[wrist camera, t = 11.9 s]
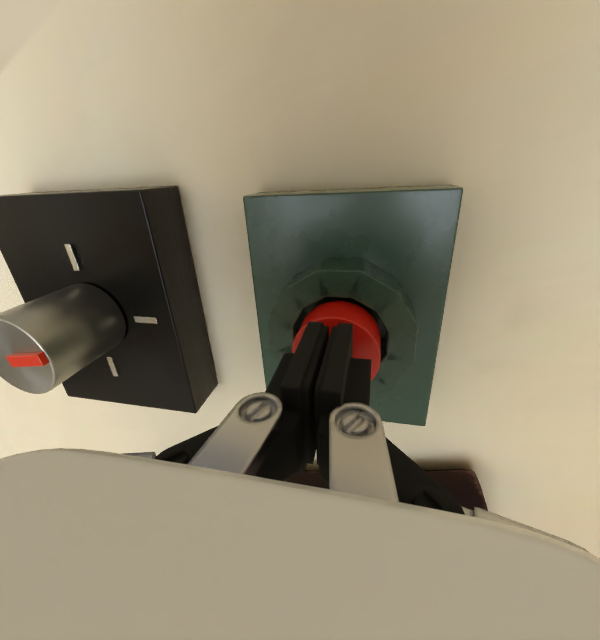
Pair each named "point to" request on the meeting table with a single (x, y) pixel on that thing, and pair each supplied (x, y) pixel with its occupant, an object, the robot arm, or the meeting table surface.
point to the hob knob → (57, 336)
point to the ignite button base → (358, 276)
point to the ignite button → (363, 329)
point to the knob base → (119, 286)
